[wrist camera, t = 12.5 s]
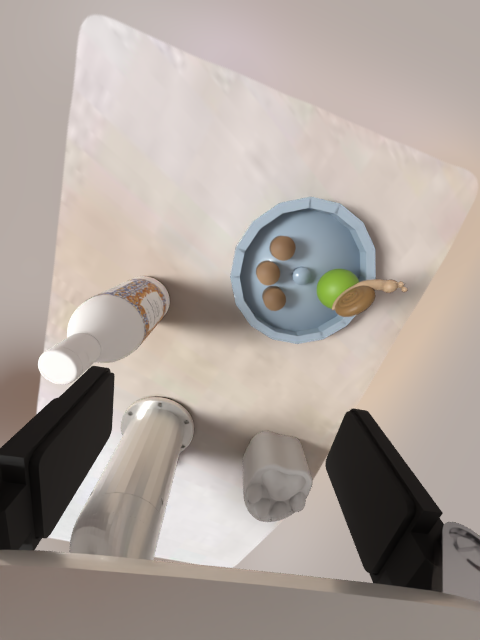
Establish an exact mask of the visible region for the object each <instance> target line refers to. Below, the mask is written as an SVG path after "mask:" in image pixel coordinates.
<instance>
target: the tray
mask: <svg viewBox="0 0 480 640" xmlns="http://www.w3.org/2000/svg"><path fill="white" fill-rule="evenodd" d="M277 236H287V237H290V238H291V239H292V240H293V241H294V243H295V246H296V250H295V253H294V255H293V256H292V257H291V258H290V259H288V260H285V261H281V260H278V259H276V258H275V257H274V256H272V254H271V253H270V249H269V246H270V243H271V241H272V240H273V239H274V238H275V237H277ZM265 260H269V261H272V262H273V263H274V264H276V265H277V266H278V268H279V270H280V277H279V280H278V281H277V282H276V283H275V284H273V285H269V286H277V287H279V288H280V289H281V290H282V292H283V293H284V294H285V296H286V303H285V305H284V307H283V308H282V309H280V310H278V311H271V310H269V309H268V308H267V307H266V306H265V304H264V301H263V299H262V294H263V291H264V290H265V289H266V288H267V287H269V286H267V285H263V284H262V283H261V282H260V281H259V280H258V278H257V275H256V268H257V266H258V264H259V263H260V262H262V261H265ZM333 269H346V270H349V271H351V272H352V273H353V274H355V275H356V277H357V278H358V280H359V282H361V281H365V280H371V279H375V278H376V270H375V247H374V245H373V243H372V241H371V238H370V236H369V234H368V232H367V230H366V227H365V225H364V223H363V222H362V221H361V220H360V219H358V218H357V217H356V216H355V215H354V214H352V213H351V212H350V211H349V210H348V209H346V208H345V207H344V206H343V205H341V204H340V203H335V202H331V201H327V200H323V199H318V198H314V197H307V198H302V199H297V200H292V201H287V202H283V203H279V204H277V205H276V206H274V207H273V208H271V209H270V210H269V211H267V212H266V213H264V214H263V215H261V216H260V217H259V218H257V219H256V220H254V221H253V222H252V223H251V224H250V226H249V227H248V229H247V230H246V232H245V233H244V235H243V236H242V238H241V240H240V241H239V243H238V244H237V246H236V249H235V254H234V259H233V264H232V270H231V276H230V278H231V283H232V288H233V293H234V297H235V302H236V305H237V307H238V308H239V309H240V311H241V312H242V314H243V315H244V317H245V318H246V320H247V321H248V322H249V324H250V325H251V326H252V327H254V328H255V329H257V330H258V331H260V332H262V333H263V334H265V335H266V336H268V337H269V338H271V339H274V340H279V341H284V342H290V343H295V344H299V343H305V342H310V341H316V340H322V339H324V338H326V337H328V336H330V335H331V334H333V333H335V332H337V331H338V330H340V329H342V328H344V327H345V326H347V325H348V324H349V323H350V321H351V320H352V319H353V318H354V317H355V316H356V315H355V316H351V317H342V316H340V315H338V314H337V313H336V311H335V310H332V309H330V308H327V307H326V306H324V305H323V304H322V303H321V302H320V300H319V299H318V296H317V284H318V282H319V280H320V278H321V277H322V276H323V275H324V274H325V273H326V272H328V271H330V270H333Z"/></svg>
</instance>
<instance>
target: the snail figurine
mask: <svg viewBox="0 0 480 640" xmlns="http://www.w3.org/2000/svg"><path fill="white" fill-rule="evenodd" d="M398 286H399V287H398ZM403 286H404V283H403V282H402V281H400V282H399V283H398V282H396V281H394V280H381V279H371V280H365V281H361V282H359V280H358V278H357V277H356V275H355V274H353V273H352V272H351V271H349V270H346V269H333V270H330V271H328V272H326V273H325V274H324V275H323V276H322V277H321V278H320V280H319V282H318V284H317V296H318V299H319V300H320V302H321V303H322V304H323V305H324V306H326V307H327V308H330V309H332V310H335V311H336V313H337V314H338V315H340V316H342V317H351V316H355V315H357V314H359V313H361V312H363V311H365V310H366V309H367V308H368V307H369V306H370V305H371V304H372V303H373V301H374V299H375V291H374V290H383V291H384V292H386V293H391V292H394V291H395V290H396V289H397V288H402V289H401V290H402V291H403V292H406V291H407V290H408V288H407V287H405V286H404V287H403Z"/></svg>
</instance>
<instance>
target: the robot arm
mask: <svg viewBox="0 0 480 640" xmlns="http://www.w3.org/2000/svg"><path fill="white" fill-rule="evenodd" d="M113 395H114V373H110V369H109V368H104V367H98V366H92V367H91V368H89V369H88V370H87V371H86V372H85V373H84V374H83V375H82V376H81V377H80V378H79V379H78V380H77V381H76V382H75V383H74V384H73V385H72V386H71V387H69V388H68V389H67V390H66V391H65V392H64V393H63V394H62V395H61V396H60V397H59V398H55V399H54V400H52V401H51V402H50V403H49V404H48V405H46V406H45V407H44V408H43V409H42V410H41V411H40V412H39V413H38V414H37V415H36V416H35V417H34V418H32V419H31V420H30V421H29V422H28V423H27V424H26V425H25V426H24V427H23V428H22V429H21V430H20V431H19V432H17V433H16V434H15V435H14V436H13V437H12V438H11V439H10V440H9V441H8V442H7V443H6V444H4V445H3V446H2V447H1V448H0V640H480V536H479V535H478V534H477V533H475V532H474V531H472V530H471V529H469V528H467V527H465V526H464V525H461V524H459V523H456V522H447V523H445V524H443V522H442V521H441V520H440V516H441V515H442V512H441V510H440V509H439V507H438V506H437V505H436V503H435V502H434V501H433V499H432V498H431V497H430V495H429V494H428V492H427V491H426V490H425V488H424V487H423V486H422V484H421V483H420V482H419V480H418V479H417V477H416V476H415V475H414V473H413V472H412V471H411V469H410V468H409V467H408V465H407V464H406V463H405V461H404V460H403V458H402V457H401V456H400V454H399V453H398V452H397V450H396V449H395V447H394V446H393V445H392V443H391V442H390V441H389V439H388V438H387V437H386V435H385V434H384V432H383V431H382V430H381V429H380V427H379V426H378V424H377V423H376V422H375V420H374V419H373V418H372V416H371V415H370V414H369V412H368V411H365V410H359V409H351V410H350V411H348V412H346V414H345V416H344V418H343V421H342V423H341V425H340V428H339V430H338V433H337V435H336V437H335V440H334V442H333V444H332V447H331V449H330V452H329V454H328V456H327V459H326V470H327V473H328V475H329V478H330V480H331V483H332V486H333V488H334V491H335V494H336V496H337V498H338V501H339V504H340V507H341V509H342V512H343V514H344V517H345V520H346V522H347V525H348V528H349V530H350V533H351V535H352V538H353V541H354V543H355V546H356V549H357V551H358V554H359V556H360V559H361V561H362V564H363V567H364V569H365V570H366V571H367V572H368V573H370V576H371V578H372V581H373V583H367V582H356V581H348V580H339V579H330V578H321V577H312V576H303V575H294V574H284V573H274V572H265V571H255V570H246V569H236V568H226V567H216V566H206V565H197V564H186V563H176V562H165V561H155V560H153V559H154V555H155V551H156V547H157V542H158V538H159V534H160V530H161V526H162V522H163V518H164V514H165V510H166V506H167V502H168V498H169V494H170V490H171V486H172V482H173V478H174V474H175V470H176V466H177V462H178V458H179V454H180V452H182V451H183V450H185V449H186V448H187V447H188V445H189V444H190V442H191V441H192V438H193V433H194V423H193V419H192V417H191V415H190V414H189V412H188V411H187V410H186V409H185V408H184V407H183V406H181V405H180V404H178V403H177V402H175V401H173V400H170V399H167V398H162V397H149V398H144V399H141V400H138V401H136V402H135V403H133V404H132V405H131V406H129V408H128V409H127V410H126V412H125V413H124V415H123V417H122V420H121V433H122V435H123V436H122V438H121V440H120V442H119V444H118V445H117V447H116V449H115V451H114V453H113V454H112V456H111V458H110V460H109V462H108V464H107V465H106V467H105V469H104V471H103V473H102V475H101V476H100V478H99V480H98V482H97V484H96V485H95V487H94V489H93V491H92V493H91V495H90V496H89V498H88V500H87V502H86V504H85V506H84V507H83V509H82V511H81V513H80V515H79V517H78V519H77V521H76V523H75V525H74V528H73V531H72V535H71V540H70V551H69V553H64V552H51V551H36V550H35V548H36V547H37V545H38V543H39V542H40V540H41V539H42V538H47V537H48V536H49V535H50V534H51V532H52V531H53V529H54V528H55V526H56V524H57V523H58V521H59V519H60V518H61V516H62V515H63V513H64V511H65V510H66V508H67V506H68V505H69V503H70V501H71V500H72V498H73V496H74V495H75V493H76V491H77V490H78V488H79V487H80V485H81V483H82V482H83V480H84V478H85V477H86V475H87V473H88V472H89V470H90V468H91V467H92V465H93V463H94V462H95V460H96V459H97V457H98V455H99V454H100V452H101V450H102V449H103V447H104V445H105V444H106V442H107V440H108V439H109V437H110V434H111V431H112V416H113Z"/></svg>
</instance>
